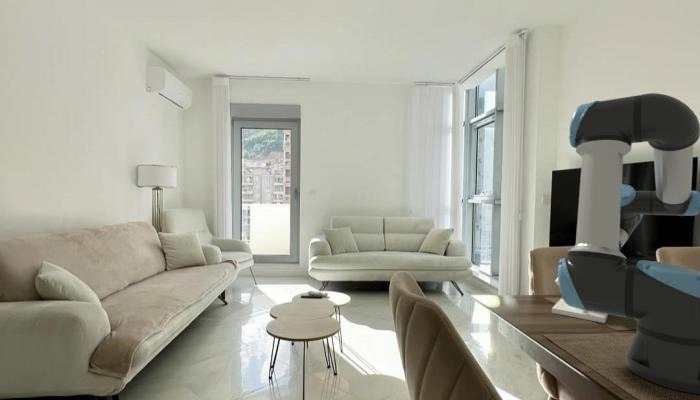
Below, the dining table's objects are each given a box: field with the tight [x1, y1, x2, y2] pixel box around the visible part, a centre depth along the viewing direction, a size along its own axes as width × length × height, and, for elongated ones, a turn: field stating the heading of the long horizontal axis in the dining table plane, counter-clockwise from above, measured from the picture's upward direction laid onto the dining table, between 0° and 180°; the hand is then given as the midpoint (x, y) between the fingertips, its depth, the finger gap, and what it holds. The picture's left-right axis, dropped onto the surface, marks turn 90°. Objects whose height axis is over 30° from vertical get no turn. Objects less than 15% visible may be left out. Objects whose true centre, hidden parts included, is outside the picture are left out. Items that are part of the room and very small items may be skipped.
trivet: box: [551, 297, 609, 324], centre depth 115 cm, size 15×14×2 cm
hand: (576, 289), depth 114 cm, fingers open, 13 cm apart
